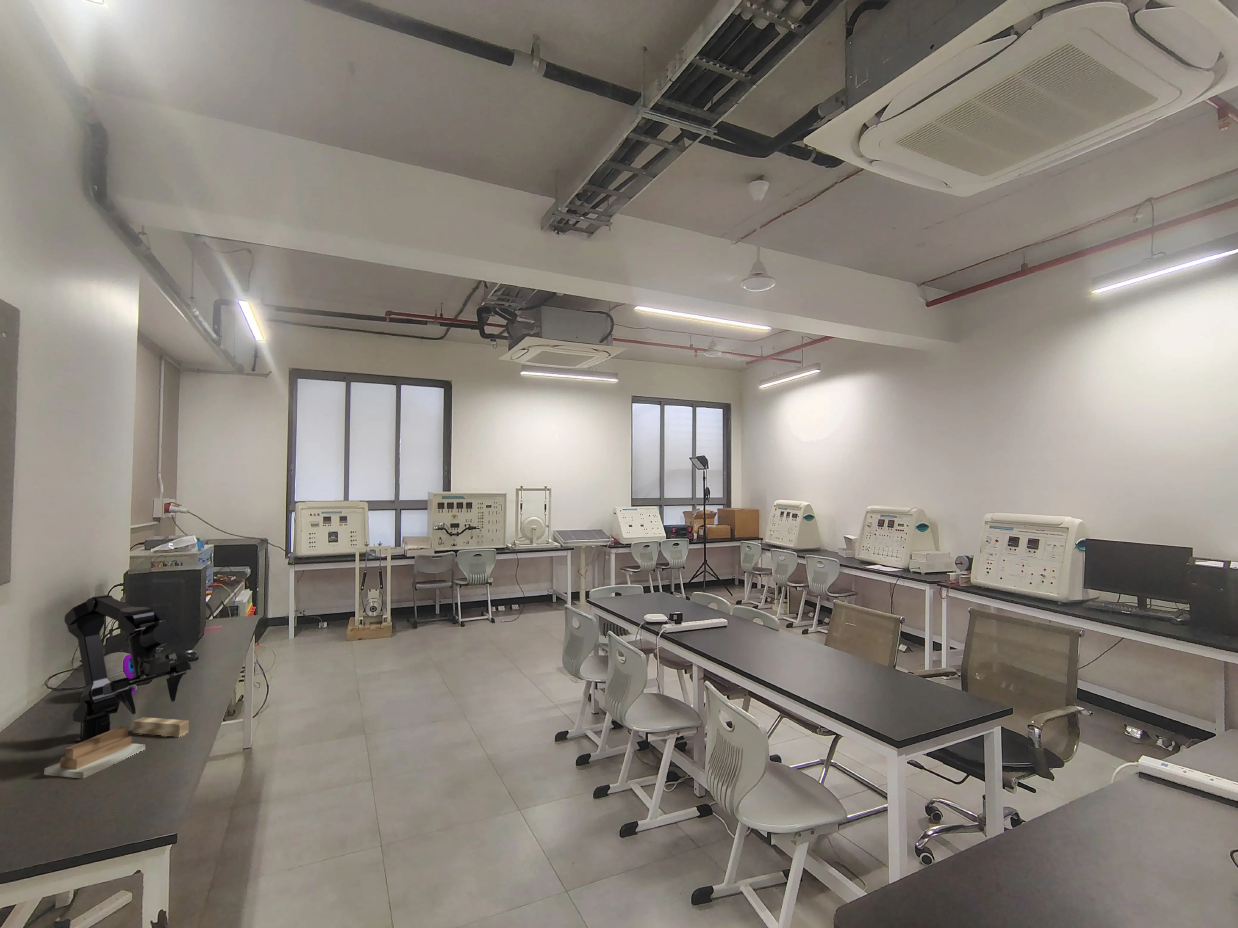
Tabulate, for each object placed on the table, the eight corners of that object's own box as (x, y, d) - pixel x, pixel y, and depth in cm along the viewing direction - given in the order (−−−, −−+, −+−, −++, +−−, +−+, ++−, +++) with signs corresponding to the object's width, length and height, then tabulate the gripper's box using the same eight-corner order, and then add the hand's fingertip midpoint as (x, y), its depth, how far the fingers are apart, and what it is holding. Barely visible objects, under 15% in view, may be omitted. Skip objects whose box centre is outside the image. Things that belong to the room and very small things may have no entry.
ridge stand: (44, 774, 144) (45, 748, 145) (109, 746, 160) (110, 723, 160) (83, 778, 143) (84, 752, 143) (145, 749, 158) (146, 726, 159)
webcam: (124, 700, 195) (127, 656, 196) (79, 703, 192) (82, 659, 192) (144, 687, 208) (146, 646, 208) (102, 690, 204) (104, 649, 205)
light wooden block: (132, 734, 169) (133, 720, 169) (142, 730, 172) (143, 717, 172) (179, 738, 167) (179, 724, 167) (188, 733, 170) (188, 720, 170)
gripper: (115, 656, 148) (125, 715, 145) (195, 637, 165) (205, 690, 162) (97, 665, 153) (107, 722, 150) (177, 645, 169) (186, 697, 167)
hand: (154, 707), depth 157 cm, fingers open, 9 cm apart
